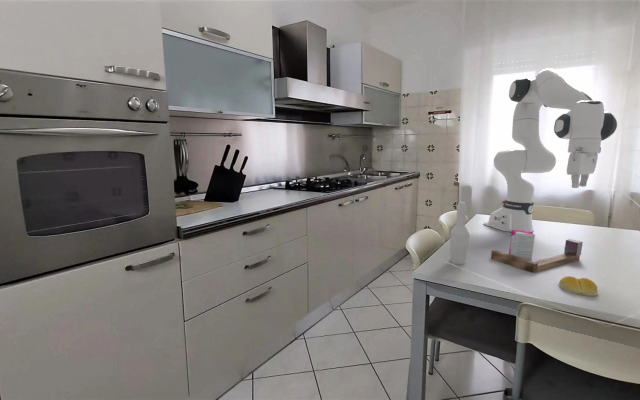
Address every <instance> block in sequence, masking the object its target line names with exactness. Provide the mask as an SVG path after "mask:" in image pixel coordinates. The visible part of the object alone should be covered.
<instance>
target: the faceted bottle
mask: <svg viewBox="0 0 640 400" xmlns="http://www.w3.org/2000/svg"><path fill="white" fill-rule="evenodd" d="M467 210H468V207H467V203H466V201H458V203H457V205H456V221H455V223H456V224H455V225H454V226H453V227H452V228H451V230H450V234H449V235H450V236H449V251H450V262H451V263H452V264H454V265H464V264H465V262H466V259H467V254H468V249H469V242H470V232H469V230H468V228H467V227H466V216H467Z"/></svg>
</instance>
